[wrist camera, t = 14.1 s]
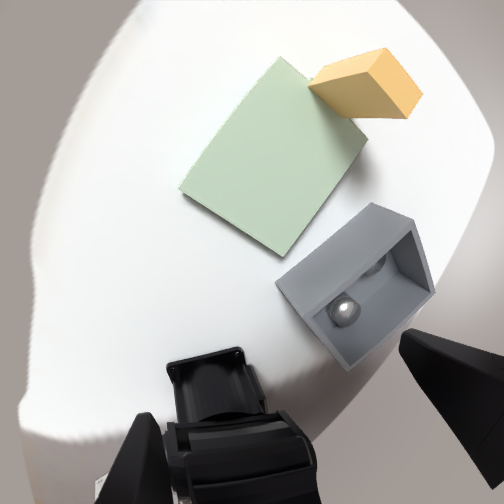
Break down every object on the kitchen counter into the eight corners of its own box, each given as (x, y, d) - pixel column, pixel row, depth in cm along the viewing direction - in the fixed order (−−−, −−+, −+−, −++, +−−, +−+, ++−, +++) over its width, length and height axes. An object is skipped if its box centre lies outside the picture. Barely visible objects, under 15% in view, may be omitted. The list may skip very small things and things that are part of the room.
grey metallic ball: (325, 319, 25) (335, 330, 23) (326, 295, 24) (336, 306, 22) (348, 311, 25) (359, 322, 24) (350, 288, 24) (362, 298, 23)
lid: (275, 249, 22) (326, 305, 15) (177, 185, 18) (182, 216, 11) (367, 123, 20) (445, 128, 13) (285, 46, 17) (348, 8, 10)
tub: (320, 338, 26) (347, 372, 22) (274, 282, 23) (301, 317, 18) (400, 269, 26) (435, 292, 22) (371, 202, 23) (413, 219, 18)
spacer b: (349, 269, 24) (361, 278, 22) (349, 241, 23) (362, 249, 21) (372, 262, 24) (385, 270, 23) (373, 236, 23) (387, 243, 22)
